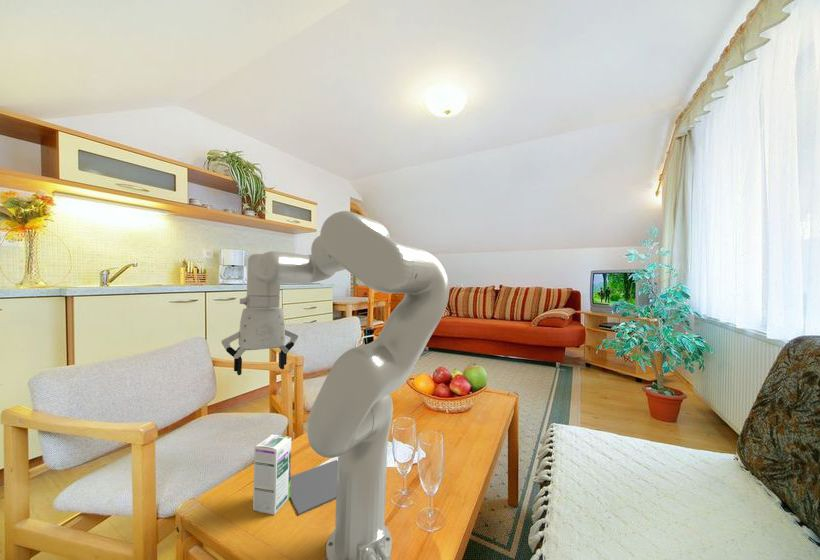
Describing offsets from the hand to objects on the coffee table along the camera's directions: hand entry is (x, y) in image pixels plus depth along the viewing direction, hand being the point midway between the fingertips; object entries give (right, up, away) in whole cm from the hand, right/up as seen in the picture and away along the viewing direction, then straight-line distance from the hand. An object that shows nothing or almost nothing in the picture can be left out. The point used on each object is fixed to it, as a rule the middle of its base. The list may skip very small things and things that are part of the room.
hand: (261, 370), depth 74 cm
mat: (+15, -29, +1) cm, 33 cm away
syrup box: (+6, -29, -6) cm, 30 cm away
